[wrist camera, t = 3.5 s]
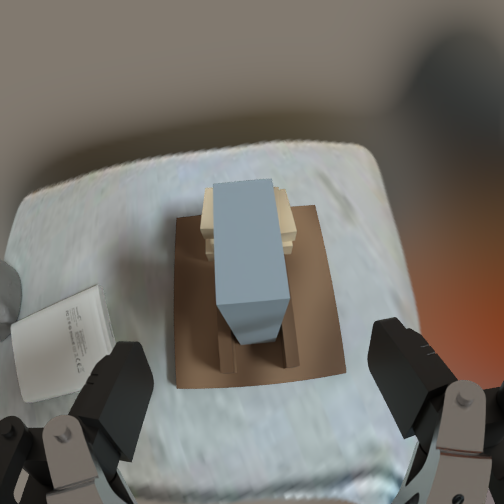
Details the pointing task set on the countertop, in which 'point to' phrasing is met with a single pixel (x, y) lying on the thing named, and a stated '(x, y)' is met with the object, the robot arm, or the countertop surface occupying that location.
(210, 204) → the birch offcut stack
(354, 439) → the countertop surface
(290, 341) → the walnut stand
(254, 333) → the slate-blue block
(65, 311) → the external hard drive
